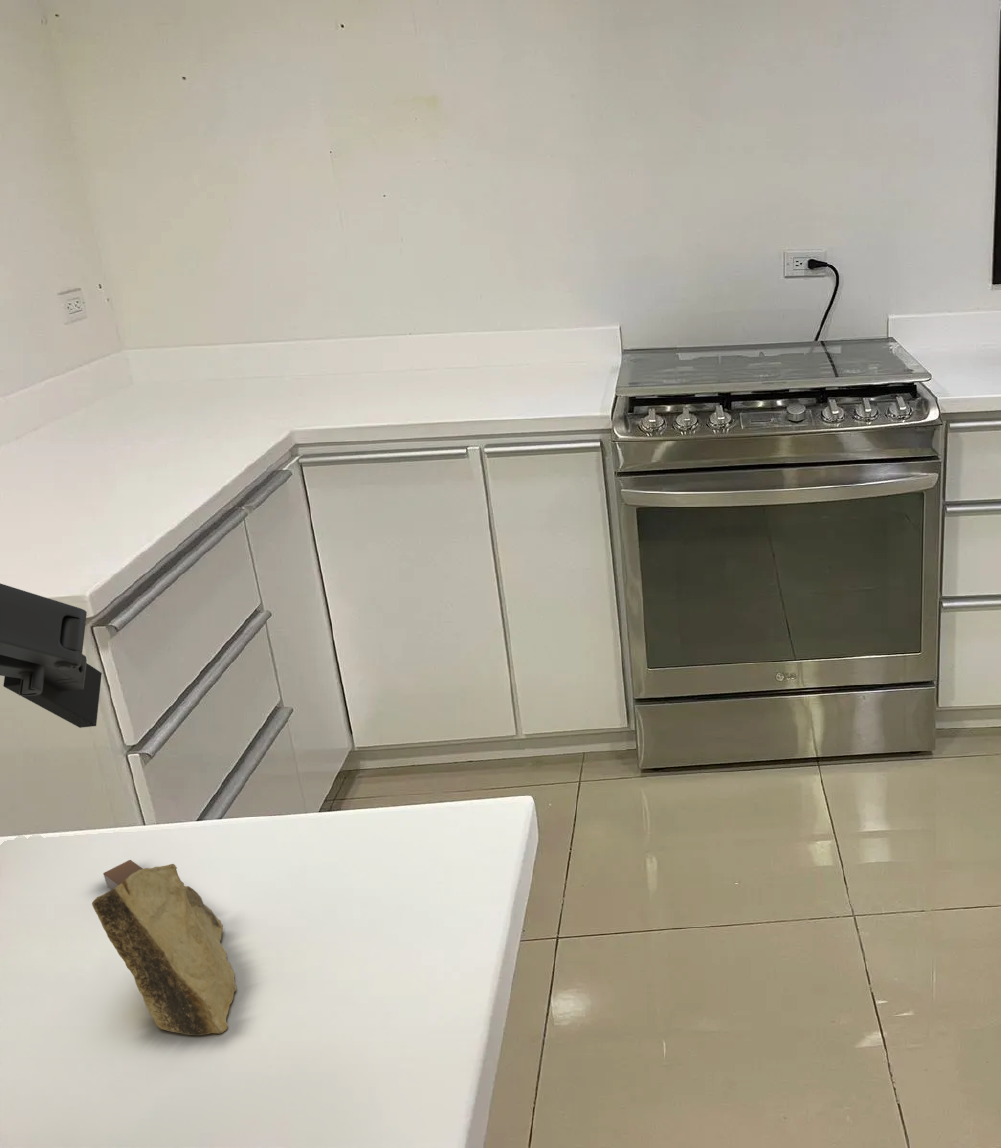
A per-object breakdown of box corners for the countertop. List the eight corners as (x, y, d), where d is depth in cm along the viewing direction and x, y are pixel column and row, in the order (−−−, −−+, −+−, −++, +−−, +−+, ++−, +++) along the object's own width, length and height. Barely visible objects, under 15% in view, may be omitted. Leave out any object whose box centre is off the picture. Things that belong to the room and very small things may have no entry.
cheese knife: (104, 887, 83) (99, 874, 82) (137, 870, 85) (133, 857, 84) (170, 938, 77) (165, 924, 77) (203, 919, 79) (199, 905, 78)
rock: (152, 893, 78) (43, 978, 68) (205, 806, 76) (99, 882, 66) (279, 983, 78) (188, 1080, 69) (336, 899, 76) (250, 988, 66)
